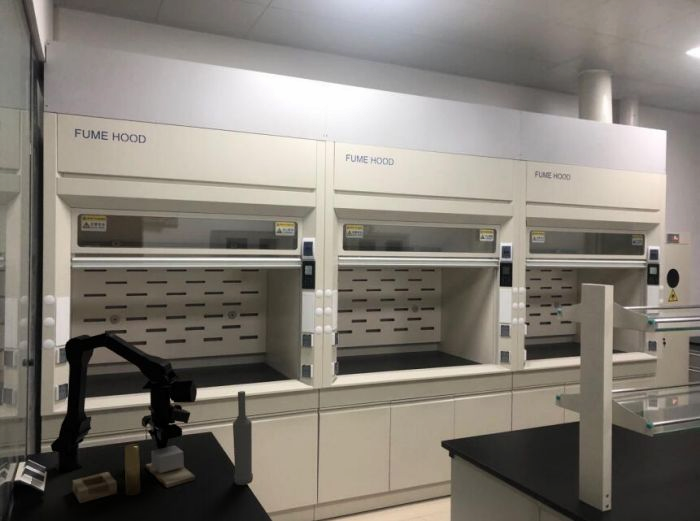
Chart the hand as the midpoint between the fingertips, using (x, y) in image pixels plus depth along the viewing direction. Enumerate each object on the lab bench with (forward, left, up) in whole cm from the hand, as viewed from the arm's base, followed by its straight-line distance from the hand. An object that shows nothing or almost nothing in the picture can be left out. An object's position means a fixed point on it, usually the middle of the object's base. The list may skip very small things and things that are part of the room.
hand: (162, 454), depth 162 cm
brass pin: (+13, -12, -4) cm, 18 cm away
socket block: (+6, -20, -4) cm, 21 cm away
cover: (+5, 0, -2) cm, 5 cm away
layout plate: (+7, 0, -4) cm, 8 cm away
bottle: (+26, +14, -4) cm, 29 cm away
